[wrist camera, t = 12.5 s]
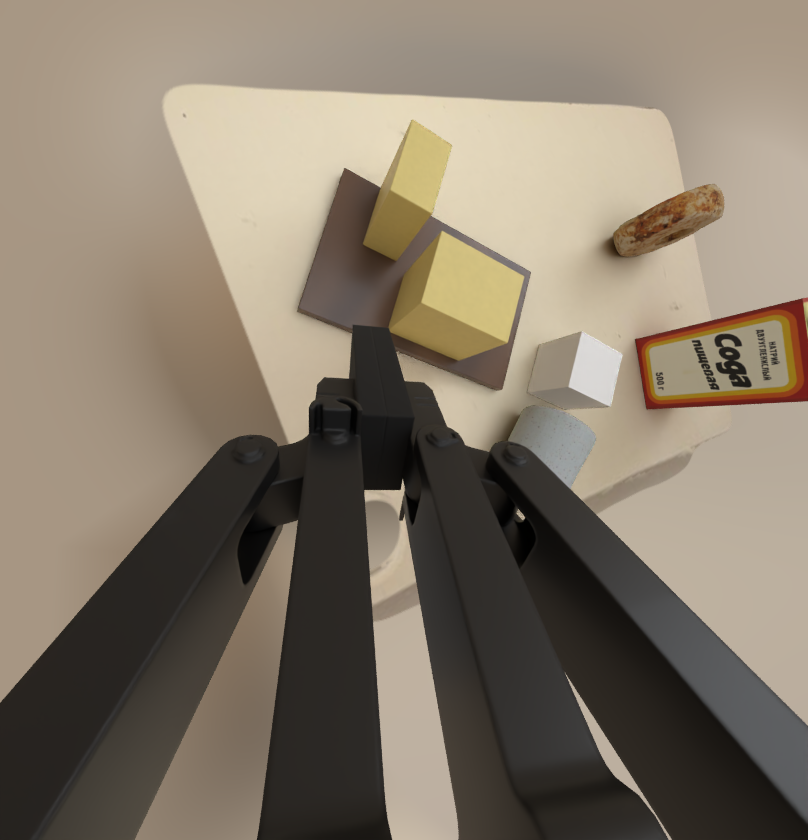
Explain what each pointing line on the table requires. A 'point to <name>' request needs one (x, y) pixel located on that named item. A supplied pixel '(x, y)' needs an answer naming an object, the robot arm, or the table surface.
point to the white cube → (575, 372)
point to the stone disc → (670, 221)
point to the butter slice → (408, 191)
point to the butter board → (387, 281)
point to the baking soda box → (729, 360)
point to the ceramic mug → (555, 439)
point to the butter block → (456, 300)
